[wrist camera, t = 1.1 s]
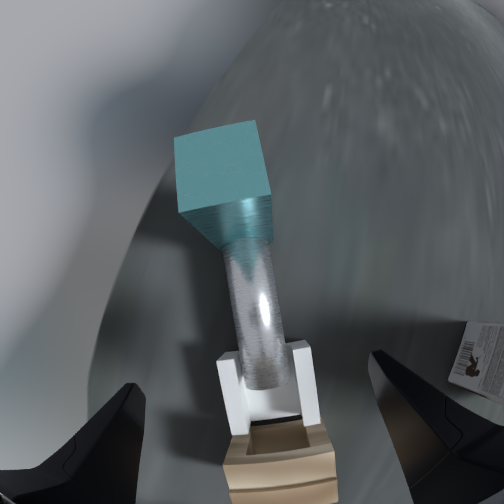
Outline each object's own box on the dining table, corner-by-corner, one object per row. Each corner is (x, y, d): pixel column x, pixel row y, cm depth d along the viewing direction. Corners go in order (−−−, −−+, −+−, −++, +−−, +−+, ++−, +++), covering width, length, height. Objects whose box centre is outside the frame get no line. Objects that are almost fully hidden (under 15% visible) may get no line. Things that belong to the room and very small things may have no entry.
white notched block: (314, 406, 19) (320, 423, 16) (238, 417, 20) (232, 435, 16) (304, 339, 20) (310, 346, 17) (225, 352, 21) (216, 361, 17)
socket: (325, 459, 18) (338, 501, 12) (245, 470, 19) (236, 513, 12) (320, 415, 19) (335, 453, 13) (235, 427, 20) (221, 468, 13)
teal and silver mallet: (295, 372, 19) (310, 429, 9) (242, 380, 19) (216, 439, 10) (263, 194, 22) (254, 119, 12) (214, 204, 22) (173, 137, 12)
